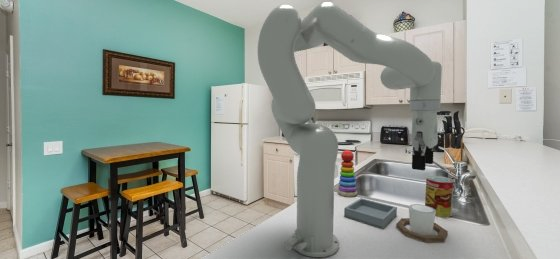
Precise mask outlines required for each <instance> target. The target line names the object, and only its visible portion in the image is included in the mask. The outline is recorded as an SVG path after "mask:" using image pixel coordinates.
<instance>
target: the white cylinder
mask: <svg viewBox="0 0 560 259" xmlns="http://www.w3.org/2000/svg"><path fill="white" fill-rule="evenodd" d="M408 214H409V215H408V218H409V219H410V224H409V230H410V231H412V232H416V233H419V234H422V235H433V231H434V229H433V226H434V223H435V219H436V216H435V214H436V210H435V209H433V208H432V207H429V206H425V204H418V203H416V204H415V203H414V204H413V203H412V204H410V205H409V206H408Z"/></svg>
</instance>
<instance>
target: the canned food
mask: <svg viewBox="0 0 560 259" xmlns="http://www.w3.org/2000/svg"><path fill="white" fill-rule="evenodd" d="M425 178H426V180H425V203H424V205H425V206H429V207H432V208H433V209H435V210H436V214H435V217H438V218H451V217H452V216H453V198H454V182H455V181H454V179H452V178H450V177H446V176H441V175H440V176H439V175H428V176H426V177H425ZM450 216H451V217H450Z"/></svg>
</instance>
